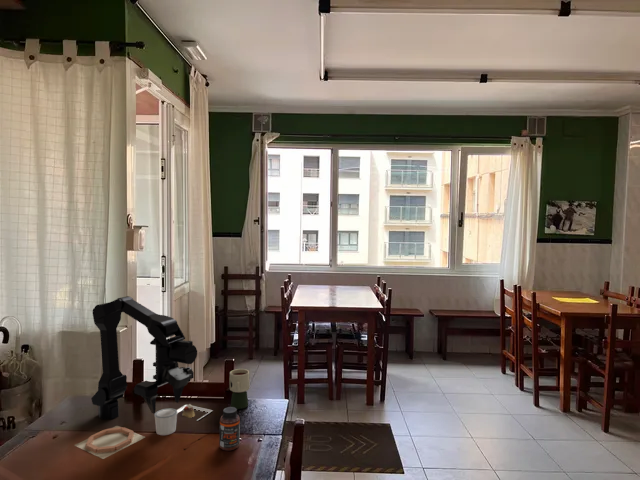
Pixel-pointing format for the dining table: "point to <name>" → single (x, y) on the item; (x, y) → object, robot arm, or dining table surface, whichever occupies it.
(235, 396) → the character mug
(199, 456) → the dining table surface
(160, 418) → the shot glass
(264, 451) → the dining table surface
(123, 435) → the serving board
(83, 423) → the dining table surface
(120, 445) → the coaster ring
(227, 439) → the supplement bottle
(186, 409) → the dessert
